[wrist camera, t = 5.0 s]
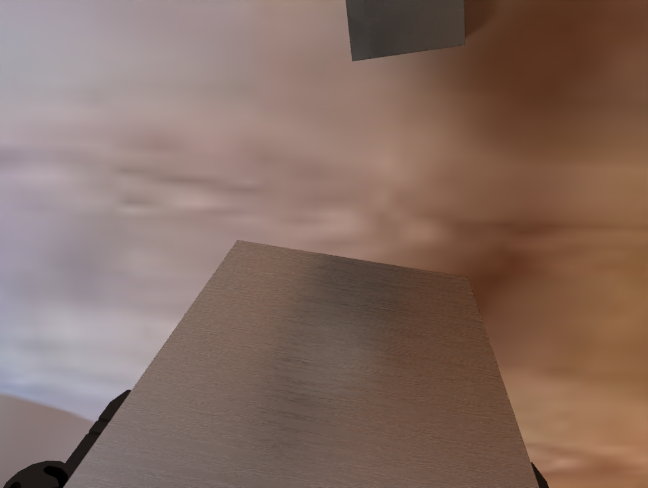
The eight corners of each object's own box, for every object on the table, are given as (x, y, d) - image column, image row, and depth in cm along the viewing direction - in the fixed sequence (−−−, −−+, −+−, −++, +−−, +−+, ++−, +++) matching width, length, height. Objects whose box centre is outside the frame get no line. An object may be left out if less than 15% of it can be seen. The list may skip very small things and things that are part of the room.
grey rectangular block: (237, 240, 14) (49, 507, 6) (467, 277, 14) (581, 613, 6) (229, 410, 18) (97, 735, 9) (418, 444, 17) (449, 817, 9)
